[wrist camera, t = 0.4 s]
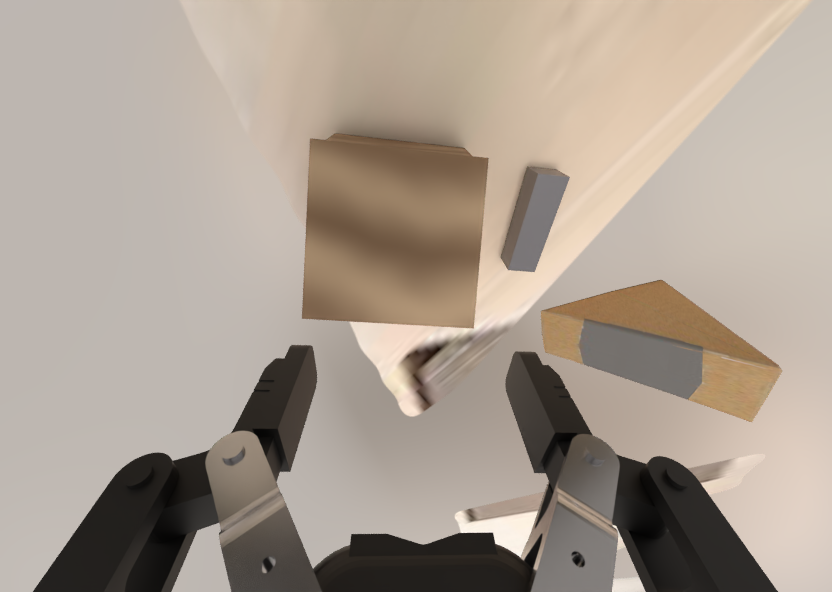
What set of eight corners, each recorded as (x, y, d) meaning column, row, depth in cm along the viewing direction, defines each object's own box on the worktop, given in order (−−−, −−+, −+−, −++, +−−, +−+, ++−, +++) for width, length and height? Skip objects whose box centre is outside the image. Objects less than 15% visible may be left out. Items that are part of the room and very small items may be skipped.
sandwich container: (539, 309, 41) (599, 407, 28) (662, 277, 39) (786, 368, 26) (543, 353, 45) (597, 454, 33) (654, 327, 43) (755, 424, 31)
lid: (313, 144, 22) (310, 138, 21) (484, 163, 23) (488, 158, 22) (305, 316, 23) (302, 318, 22) (469, 325, 24) (473, 328, 23)
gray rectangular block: (526, 165, 30) (538, 173, 28) (555, 169, 31) (569, 177, 28) (500, 256, 36) (508, 269, 33) (524, 258, 36) (534, 271, 34)
